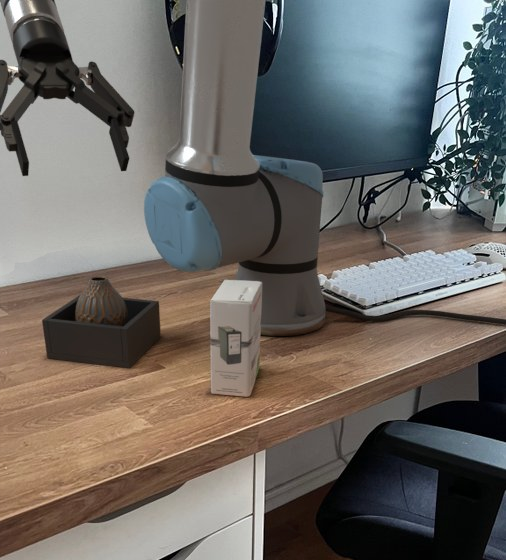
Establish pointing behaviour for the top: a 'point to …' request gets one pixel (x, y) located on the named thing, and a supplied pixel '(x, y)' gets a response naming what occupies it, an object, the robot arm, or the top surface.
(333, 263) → the top surface
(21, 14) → the robot arm
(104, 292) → the vase
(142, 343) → the box
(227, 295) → the ink box
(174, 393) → the top surface
